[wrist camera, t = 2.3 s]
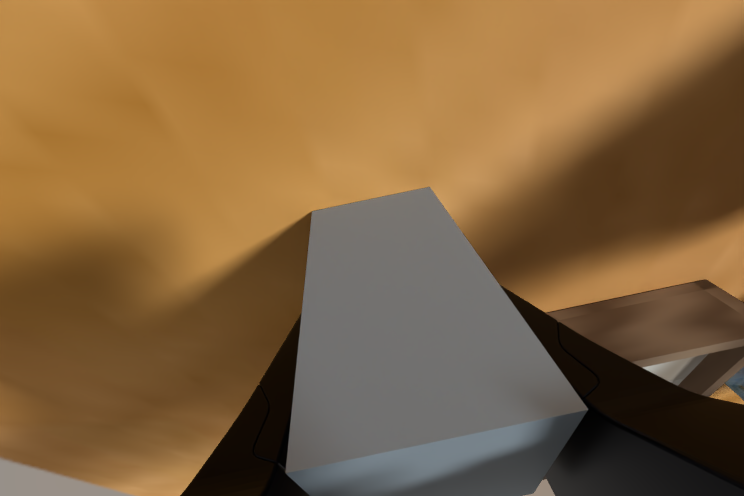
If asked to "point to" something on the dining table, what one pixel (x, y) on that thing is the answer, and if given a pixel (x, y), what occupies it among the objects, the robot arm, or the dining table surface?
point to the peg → (417, 363)
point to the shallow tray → (670, 332)
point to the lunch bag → (737, 383)
